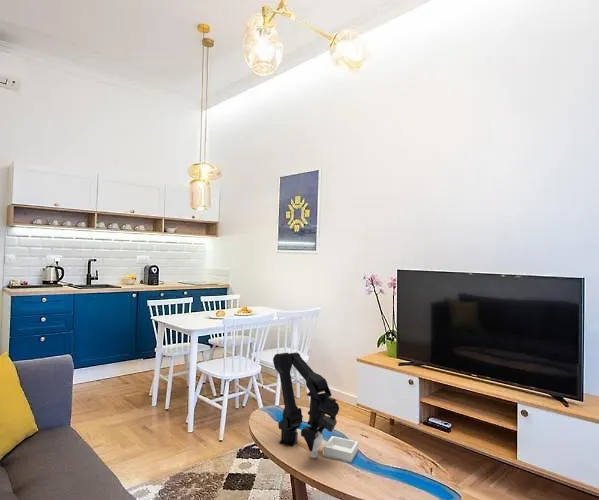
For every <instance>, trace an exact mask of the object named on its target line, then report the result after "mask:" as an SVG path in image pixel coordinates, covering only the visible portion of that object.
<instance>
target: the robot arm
mask: <svg viewBox="0 0 599 500" xmlns="http://www.w3.org/2000/svg"><path fill="white" fill-rule="evenodd" d="M272 362H273V365H274V369H275V370H276V372H277V373H278V374H279V379H280V380H279V381H280V385H281V391H282V393H281V394H282V398H283V404H284V408H283V412H282V413H281V414H282V419H281V420H280V421H279V422H278V424H277V425H278V429H279V430H281V432H280V433H281V434H280V441H279V443H278V444H282V445H286V446H290V447H293V446H294V445H295V444H296V443H297V442H298V439H299V438H298V435H299V433H298V431H297V430H298V429H300V427H301V425H302V423H303V418H304V416H303V413H302V408H301V407H298V406H297V404H296V399H295V392H294V387H293V382H292V381H293V380H292V376H291V371H292V367H294V368H295V370H297V372H298V373H299V374H300V376H301V377H302V378H303V379H304V381H305V385H306V388H307V389H308V391H309V392H307V393H306V396H307V397H309V411H307V415H309V416H308V421H307V425H306V426H304V427H303V428H302V429H301V430H300V436H301V437H302V438H304V441H305V443H306V445H307V447H308V451H309V452H311V451H312V450H313V446H314V441H315V439H316V438H317V437H318V431H319V432H320V433H321V435H322V434H323V431H324V430H327V431H328V432H333V431H334V429H335V428H336V426H337V422H338V420H337V415H339V411H340V406H339V404H338V402H337V400H336V398H332V392H331V390H330V387H329V384H328V381H327V380H326V379H325V377H323V375H321V374H319V373H316V372H315V371H314V370H313V369H312V368H311V367H310V365H308V364H307V362H305V359H304V358H302V356H301V354H300V353H299V352H290V353H289V352H282V353H281V352H280V353H276V354H274V356H273V357H272ZM322 436H323V435H322Z"/></svg>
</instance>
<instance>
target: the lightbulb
mask: <svg viewBox="0 0 599 500" xmlns="http://www.w3.org/2000/svg"><path fill="white" fill-rule="evenodd" d="M323 440H324V439H323V435H321V433H320V432H319V431H318V437H317V438H316V439H315V441H314V446H313V450H312V451H310V457H311V458H312V459H316V458H317V457H318V451H319V448H320V446H321V445H322V443H323Z"/></svg>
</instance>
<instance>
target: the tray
mask: <svg viewBox="0 0 599 500" xmlns="http://www.w3.org/2000/svg"><path fill="white" fill-rule="evenodd" d="M322 449H323V451H322V452H323V454H322V456H323V457H325V458H329V459H333V460H336V461H337V460H338V461H341V462H345V463H348V464H351V463H352V462H353V460H354V459H355V457H356V455H357V454H358V452H359V441H356V440H352V439H350V438H349V439H348V438H345V437H344V438H343V437H341V436H336V435H335V436H330V438H329V439H328V440H327V442H326V443H325V444H324V445H323V448H322Z"/></svg>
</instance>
